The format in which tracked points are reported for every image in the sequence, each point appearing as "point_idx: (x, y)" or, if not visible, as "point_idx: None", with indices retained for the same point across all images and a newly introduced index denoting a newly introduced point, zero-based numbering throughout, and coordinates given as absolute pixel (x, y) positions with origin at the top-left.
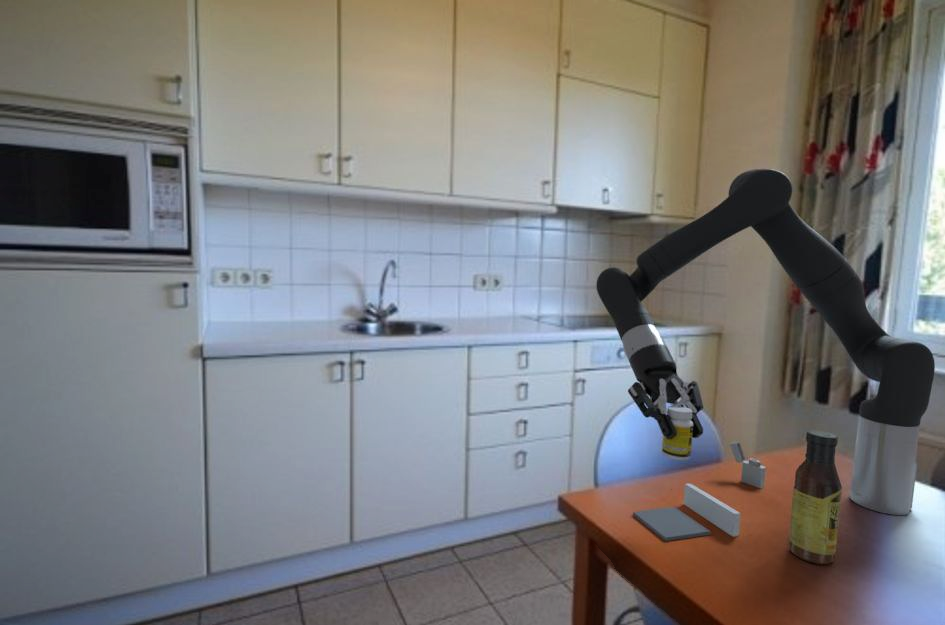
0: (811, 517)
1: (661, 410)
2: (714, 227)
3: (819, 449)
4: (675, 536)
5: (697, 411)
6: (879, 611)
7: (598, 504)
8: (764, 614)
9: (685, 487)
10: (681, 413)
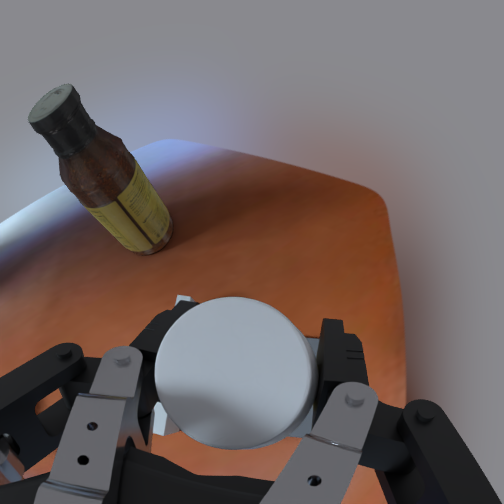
0: (149, 184)
1: (369, 400)
2: None
3: (83, 108)
4: (311, 338)
5: (98, 359)
6: (204, 151)
7: (353, 490)
8: (330, 179)
9: (166, 433)
10: (282, 314)
